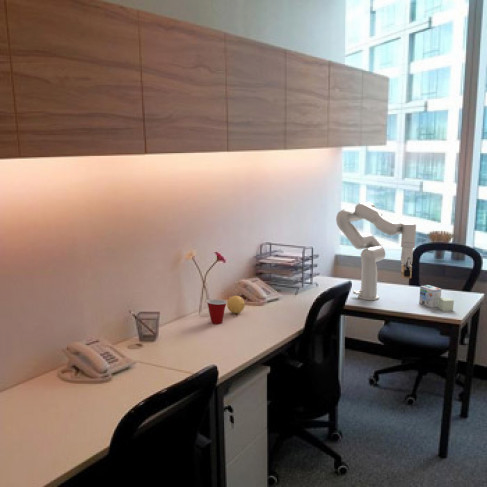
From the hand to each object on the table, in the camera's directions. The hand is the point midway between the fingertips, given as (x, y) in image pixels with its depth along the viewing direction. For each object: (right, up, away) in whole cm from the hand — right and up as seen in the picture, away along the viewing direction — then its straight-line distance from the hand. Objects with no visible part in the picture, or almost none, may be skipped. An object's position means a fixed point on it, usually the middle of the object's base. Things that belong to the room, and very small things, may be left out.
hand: (406, 274), depth 301 cm
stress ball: (-99, -21, -10) cm, 102 cm away
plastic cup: (-109, -24, -26) cm, 114 cm away
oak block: (0, -1, 0) cm, 1 cm away
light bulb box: (+16, -18, +5) cm, 25 cm away
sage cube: (+22, -20, -3) cm, 29 cm away
